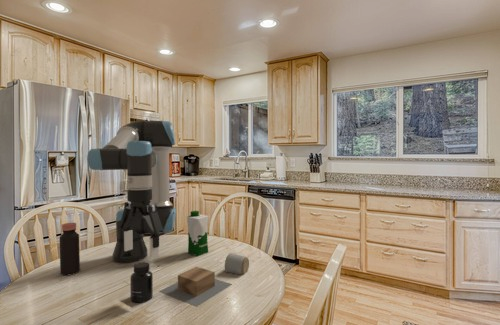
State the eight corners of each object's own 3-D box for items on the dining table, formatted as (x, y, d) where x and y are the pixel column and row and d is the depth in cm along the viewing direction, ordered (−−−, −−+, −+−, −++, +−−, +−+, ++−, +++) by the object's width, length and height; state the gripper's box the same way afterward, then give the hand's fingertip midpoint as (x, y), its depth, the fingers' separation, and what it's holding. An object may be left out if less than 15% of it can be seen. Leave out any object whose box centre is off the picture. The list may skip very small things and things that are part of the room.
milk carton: (198, 248, 145) (198, 209, 144) (211, 251, 139) (210, 211, 139) (185, 253, 138) (184, 212, 137) (198, 257, 132) (197, 214, 132)
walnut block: (177, 289, 98) (177, 275, 98) (196, 279, 106) (196, 266, 106) (196, 296, 93) (196, 281, 93) (214, 285, 101) (214, 272, 101)
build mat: (159, 294, 97) (158, 291, 97) (196, 275, 112) (196, 272, 112) (196, 309, 87) (196, 306, 87) (232, 286, 102) (232, 284, 102)
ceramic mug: (243, 278, 109) (243, 258, 109) (224, 275, 112) (224, 256, 112) (252, 268, 119) (252, 250, 119) (234, 266, 122) (235, 248, 122)
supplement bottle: (131, 308, 88) (130, 270, 88) (129, 298, 94) (129, 263, 94) (154, 303, 91) (153, 266, 91) (151, 294, 97) (150, 259, 97)
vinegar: (56, 273, 115) (55, 224, 114) (73, 267, 121) (72, 221, 120) (66, 277, 112) (65, 226, 111) (83, 270, 118) (82, 223, 117)
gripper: (107, 187, 96) (108, 250, 96) (154, 192, 82) (155, 265, 82) (127, 185, 102) (128, 244, 102) (175, 189, 88) (175, 257, 88)
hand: (140, 253), depth 92 cm, fingers open, 13 cm apart
